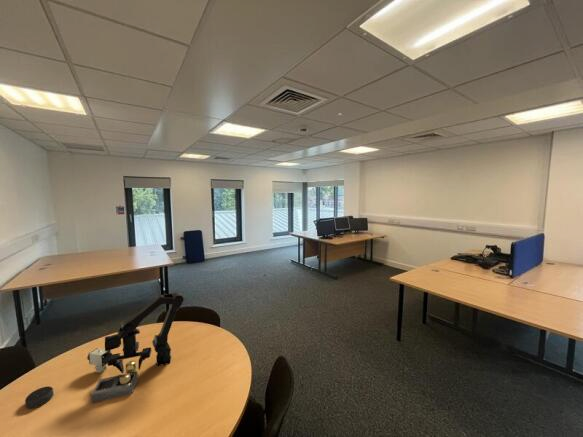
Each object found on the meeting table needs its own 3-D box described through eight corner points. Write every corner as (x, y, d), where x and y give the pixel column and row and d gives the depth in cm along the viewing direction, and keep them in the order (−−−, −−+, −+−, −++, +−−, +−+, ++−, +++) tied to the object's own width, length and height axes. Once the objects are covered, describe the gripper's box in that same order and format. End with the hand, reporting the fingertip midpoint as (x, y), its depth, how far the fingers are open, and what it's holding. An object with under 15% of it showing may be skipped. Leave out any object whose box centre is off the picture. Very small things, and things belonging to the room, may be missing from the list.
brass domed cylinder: (137, 370, 130) (136, 359, 130) (135, 375, 126) (134, 365, 125) (127, 372, 129) (127, 361, 128) (125, 377, 124) (124, 367, 124)
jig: (137, 378, 124) (137, 371, 124) (132, 393, 115) (131, 385, 114) (100, 387, 118) (99, 379, 118) (91, 403, 109) (90, 395, 109)
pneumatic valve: (105, 375, 126) (104, 353, 125) (87, 372, 129) (86, 351, 128) (115, 368, 132) (114, 347, 131) (98, 365, 134) (96, 344, 133)
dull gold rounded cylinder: (132, 383, 121) (131, 372, 120) (129, 389, 117) (129, 378, 116) (121, 385, 119) (121, 374, 119) (119, 392, 115) (118, 380, 115)
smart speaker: (31, 398, 112) (30, 390, 112) (56, 390, 117) (55, 382, 116) (21, 412, 105) (20, 404, 104) (49, 404, 109) (48, 395, 109)
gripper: (152, 331, 137) (154, 357, 138) (113, 338, 130) (115, 365, 131) (148, 342, 126) (150, 370, 128) (106, 350, 120) (108, 380, 121)
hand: (131, 371), depth 127 cm, fingers open, 7 cm apart
